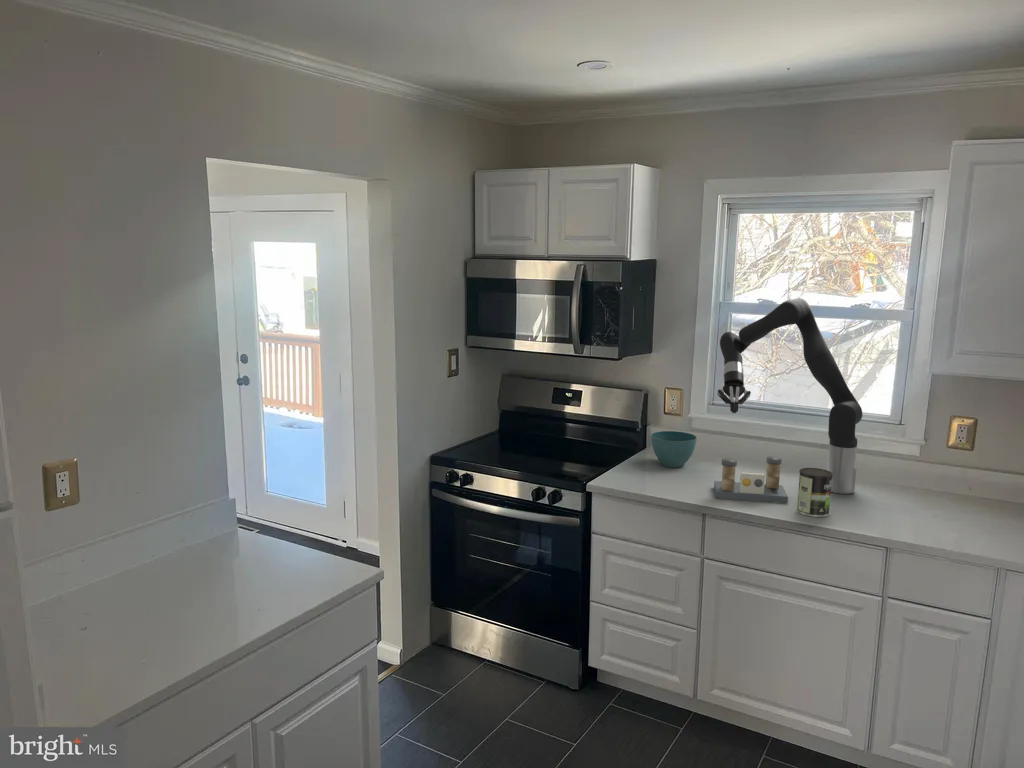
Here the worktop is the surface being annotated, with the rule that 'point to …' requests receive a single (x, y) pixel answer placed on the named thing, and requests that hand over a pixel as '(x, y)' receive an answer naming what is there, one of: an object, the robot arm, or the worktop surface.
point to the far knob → (728, 474)
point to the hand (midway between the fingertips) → (734, 412)
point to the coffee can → (814, 492)
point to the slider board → (751, 490)
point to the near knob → (773, 472)
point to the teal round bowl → (673, 447)
